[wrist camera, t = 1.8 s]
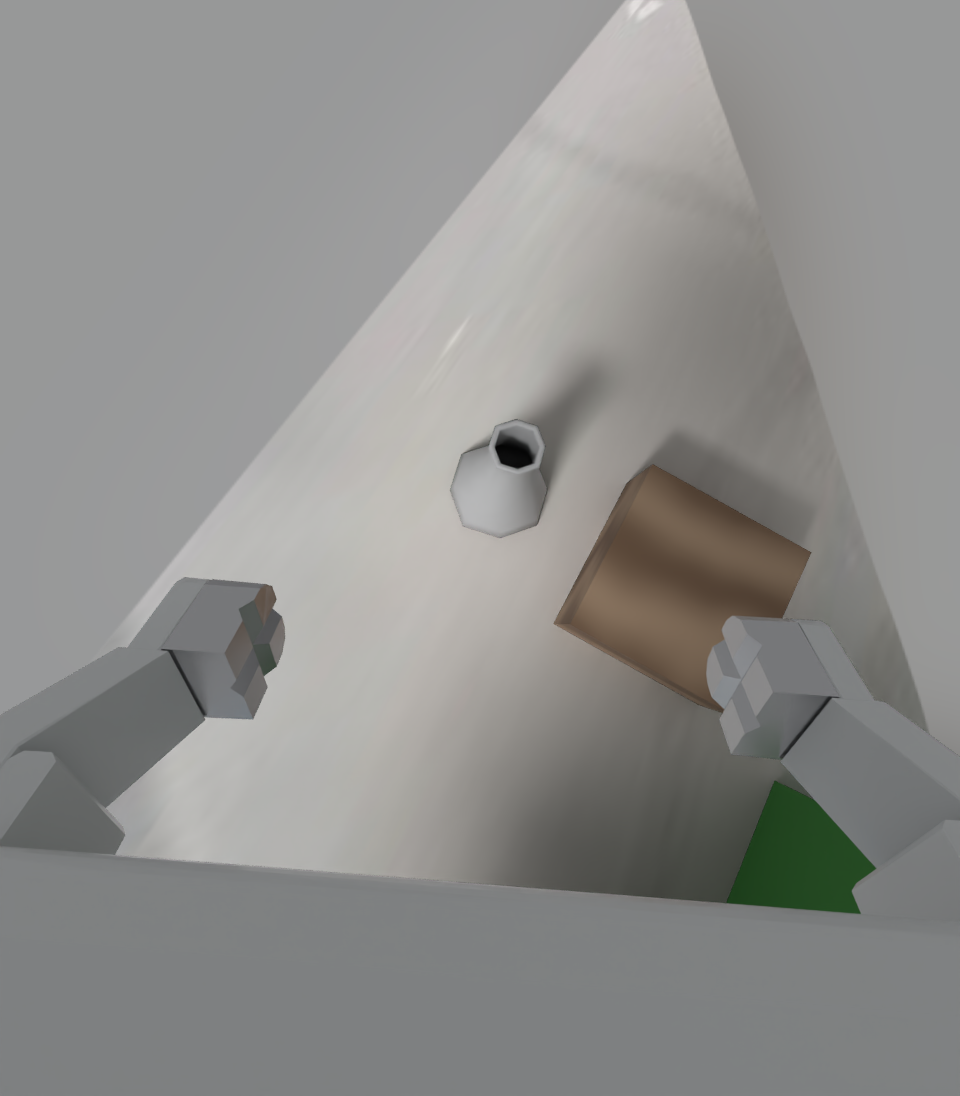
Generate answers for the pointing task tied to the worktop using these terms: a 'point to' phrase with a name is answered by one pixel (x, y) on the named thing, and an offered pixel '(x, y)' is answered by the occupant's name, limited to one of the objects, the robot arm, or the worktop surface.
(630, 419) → the worktop surface
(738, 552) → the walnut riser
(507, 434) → the flask
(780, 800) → the hardback book
